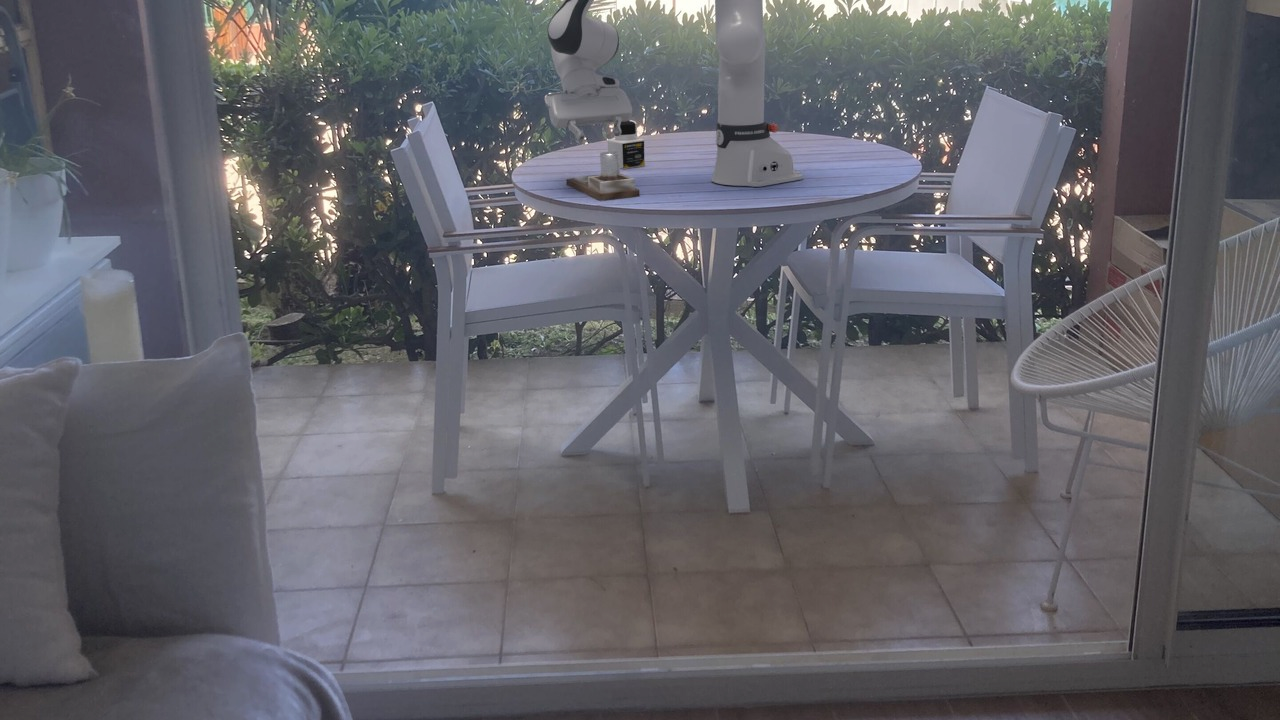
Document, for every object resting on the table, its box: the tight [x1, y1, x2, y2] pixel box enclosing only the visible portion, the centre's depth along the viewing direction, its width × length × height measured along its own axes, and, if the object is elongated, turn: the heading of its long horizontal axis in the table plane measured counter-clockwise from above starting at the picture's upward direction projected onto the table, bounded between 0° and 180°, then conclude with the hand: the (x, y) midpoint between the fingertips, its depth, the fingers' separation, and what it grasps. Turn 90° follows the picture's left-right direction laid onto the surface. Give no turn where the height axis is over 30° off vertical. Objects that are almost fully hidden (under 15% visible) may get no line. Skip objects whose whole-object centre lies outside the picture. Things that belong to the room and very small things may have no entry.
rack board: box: [565, 173, 641, 201], centre depth 273 cm, size 10×22×4 cm, turn 24°
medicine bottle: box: [607, 119, 646, 170], centre depth 301 cm, size 7×7×12 cm
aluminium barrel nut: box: [599, 151, 621, 182], centre depth 266 cm, size 4×4×8 cm
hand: (599, 136), depth 269 cm, fingers open, 8 cm apart
